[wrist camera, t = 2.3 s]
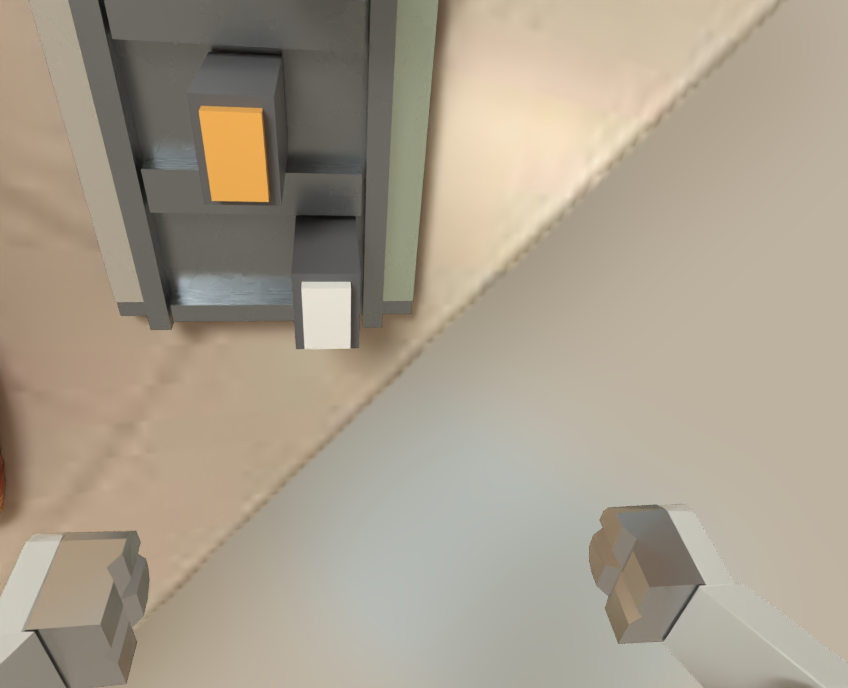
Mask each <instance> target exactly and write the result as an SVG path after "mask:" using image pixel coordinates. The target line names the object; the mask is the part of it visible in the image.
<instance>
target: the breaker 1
mask: <svg viewBox="0 0 848 688" xmlns="http://www.w3.org/2000/svg"><path fill="white" fill-rule="evenodd" d="M291 277H292V293H293V308H294V324H295V340H296V349H350V348H359V318H360V263H359V250H358V237H357V225H356V216H297V215H296V220H295V232H294V245H293V258H292V271H291Z"/></svg>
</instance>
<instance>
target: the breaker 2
mask: <svg viewBox="0 0 848 688" xmlns="http://www.w3.org/2000/svg"><path fill="white" fill-rule="evenodd" d="M344 1H358V2H366V0H344Z"/></svg>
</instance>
